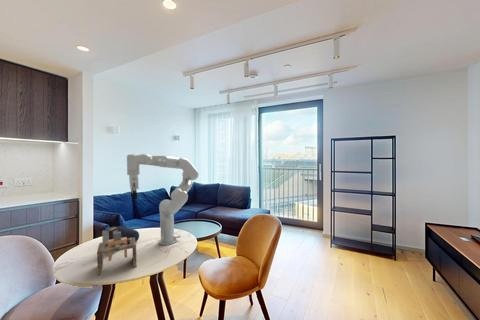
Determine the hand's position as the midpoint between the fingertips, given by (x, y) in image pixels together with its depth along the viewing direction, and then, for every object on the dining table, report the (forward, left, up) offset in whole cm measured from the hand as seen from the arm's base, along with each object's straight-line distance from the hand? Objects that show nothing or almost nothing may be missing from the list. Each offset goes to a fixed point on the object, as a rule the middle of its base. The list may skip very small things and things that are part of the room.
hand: (134, 197), depth 149 cm
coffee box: (+14, -4, -36) cm, 39 cm away
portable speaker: (+6, -22, -37) cm, 43 cm away
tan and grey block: (+10, +19, -31) cm, 38 cm away
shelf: (+10, +19, -36) cm, 42 cm away
